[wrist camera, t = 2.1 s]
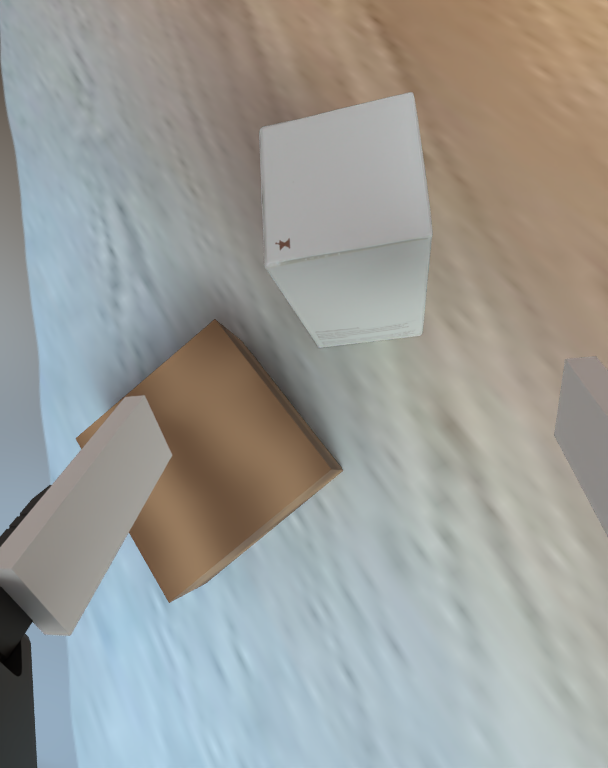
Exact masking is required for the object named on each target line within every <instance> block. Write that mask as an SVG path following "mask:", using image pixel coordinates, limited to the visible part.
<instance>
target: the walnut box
mask: <svg viewBox="0 0 608 768" xmlns="http://www.w3.org/2000/svg"><path fill="white" fill-rule="evenodd" d="M142 395H145V397H146V399H147V401H148V403H149V406H150V408H151V410H152V412H153V414H154V416H155V419H156V421H157V423H158V425H159V427H160V429H161V432H162V434H163V436H164V438H165V440H166V443H167V445H168V447H169V449H170V451H171V453H172V457H171V458H170V460H169V462H168V464H167V466H166V467H165V469H164V471H163V473H162V474H161V476H160V478H159V480H158V481H157V483H156V485H155V487H154V489H153V490H152V492H151V494H150V496H149V497H148V499H147V501H146V503H145V504H144V506H143V508H142V510H141V512H140V513H139V515H138V517H137V519H136V520H135V522H134V524H133V526H132V528H131V529H130V531H129V533H130V535H131V537H132V539H133V540H134V542H135V544H136V546H137V547H138V549H139V551H140V553H141V554H142V556H143V558H144V560H145V561H146V563H147V565H148V567H149V569H150V570H151V572H152V574H153V576H154V577H155V579H156V581H157V583H158V584H159V586H160V588H161V590H162V591H163V593H164V595H165V597H166V598H167V600H168V602H169V603H170V602H172V601H173V600H175V599H177V598H179V597H181V596H183V595H185V594H187V593H189V592H191V591H192V590H194V589H196V588H198V587H200V586H202V585H204V584H206V583H207V582H208V581H209V580H211V579H212V578H213V577H214V576H215V575H217V574H218V573H219V572H220V571H221V570H223V569H224V568H225V567H226V566H228V565H229V564H230V563H231V562H232V561H234V560H235V559H236V558H237V557H239V556H240V555H241V554H242V553H243V552H245V551H246V550H247V549H248V548H250V547H251V546H252V545H253V544H254V543H256V542H257V541H258V540H259V539H261V538H262V537H263V536H264V535H265V534H267V533H268V532H269V531H270V530H271V529H273V528H274V527H275V526H276V525H278V524H279V523H280V522H281V521H282V520H284V519H285V518H286V517H287V516H289V515H290V514H291V513H292V512H293V511H295V510H296V509H297V508H298V507H300V506H301V505H302V504H303V503H304V502H306V501H307V500H308V499H309V498H310V497H312V496H313V495H314V494H315V493H317V492H318V491H319V490H320V489H321V488H323V487H324V486H325V485H326V484H328V483H329V482H330V481H331V480H332V479H334V478H335V477H336V476H337V475H339V474H340V473H341V472H342V471H343V469H342V468H341V467H340V465H339V464H338V463H337V462H336V460H335V459H334V458H333V457H332V455H331V454H330V453H329V451H328V450H327V449H326V448H325V446H324V445H323V444H322V443H321V441H320V440H319V439H318V437H317V436H316V435H315V434H314V432H313V431H312V430H311V429H310V427H309V426H308V425H307V423H306V422H305V421H304V420H303V418H302V417H301V416H300V415H299V413H298V412H297V411H296V409H295V408H294V407H293V406H292V404H291V403H290V402H289V401H288V399H287V398H286V397H285V395H284V394H283V393H282V392H281V390H280V389H279V388H278V387H277V385H276V384H275V383H274V381H273V380H272V379H271V378H270V376H269V375H268V374H267V373H266V371H265V370H264V369H263V367H262V366H261V365H260V364H259V362H258V361H257V360H256V359H255V357H254V356H253V355H252V353H251V352H250V351H249V350H248V348H247V347H246V346H245V345H244V343H243V342H242V341H241V340H240V339H239V338H238V337H236V336H235V335H234V334H233V333H231V332H230V331H229V330H228V329H227V328H225V327H224V326H223V325H222V324H220V323H219V322H218V321H217V320H216V319H214V320H213V321H212V322H211V323H210V324H209V325H207V326H206V327H205V328H204V329H203V330H202V331H200V332H199V333H198V334H197V335H196V336H195V337H193V338H192V339H191V340H190V341H189V342H188V343H186V344H185V345H184V346H183V347H182V348H181V349H179V350H178V351H177V352H176V353H175V354H174V355H172V356H171V357H170V358H169V359H168V360H167V361H165V362H164V363H163V364H162V365H161V366H160V367H158V368H157V369H156V370H155V371H154V372H153V373H151V374H150V375H149V376H148V377H147V378H146V379H144V380H143V381H142V382H141V383H140V384H139V385H137V386H136V387H135V388H134V389H133V390H132V391H130V392H129V393H128V394H127V395H126V396H125V397H131V396H142ZM125 397H123V398H122V399H121V400H120V401H119V402H118V403H116V404H115V405H114V406H113V407H112V408H111V409H109V410H108V411H107V412H106V413H105V414H104V415H102V416H101V417H100V418H99V419H98V420H97V421H95V422H94V423H93V424H92V425H91V426H90V427H88V428H87V429H86V430H85V431H84V432H83V433H81V434H80V435H79V436H78V437H77V438H76V440H77V442H78V444H79V445H80V447H81V449H82V448H83V447H84V446H85V445H86V443H87V442H88V441H89V440H90V439H91V437H92V436H93V435H94V434H95V433H96V431H97V430H98V429H99V428H100V427H101V425H102V424H103V423H104V422H105V421H106V419H107V418H108V417H109V416H110V415H111V413H112V412H113V411H114V410H115V408H116V407H117V406H118V405H119V404H120V402H121V401H122V400H123V399H124V398H125Z"/></svg>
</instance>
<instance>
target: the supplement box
mask: <svg viewBox="0 0 608 768" xmlns="http://www.w3.org/2000/svg"><path fill="white" fill-rule="evenodd" d="M259 146H260V167H261V204H262V218H263V244H264V267H265V268H266V270H267V271H268V273H269V274H270V276H271V277H272V279H273V280H274V282H275V283H276V285H277V286H278V288H279V289H280V291H281V292H282V294H283V295H284V297H285V298H286V300H287V301H288V303H289V304H290V306H291V307H292V309H293V310H294V312H295V313H296V315H297V316H298V318H299V319H300V321H301V322H302V324H303V325H304V327H305V328H306V329H307V331H308V333H309V334H310V336H311V337H312V339H313V340H314V341H315V343H316V344H317V346H318V347H319V348H322V347H330V346H339V345H348V344H357V343H364V342H374V341H381V340H390V339H398V338H406V337H414V336H420V335H422V332H423V324H424V313H425V304H426V292H427V281H428V271H429V261H430V251H431V241H432V235H433V234H432V221H431V212H430V204H429V196H428V188H427V180H426V173H425V166H424V159H423V152H422V145H421V138H420V131H419V123H418V117H417V111H416V105H415V99H414V94H413V93H412V92H409V93H405V94H400V95H396V96H392V97H387V98H383V99H379V100H375V101H371V102H367V103H362V104H358V105H354V106H350V107H345V108H341V109H337V110H333V111H329V112H325V113H321V114H317V115H313V116H309V117H305V118H301V119H296V120H291V121H287V122H282V123H278V124H273V125H268V126H263V127H261V128H260V131H259Z"/></svg>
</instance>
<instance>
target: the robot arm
mask: <svg viewBox="0 0 608 768" xmlns="http://www.w3.org/2000/svg"><path fill="white" fill-rule="evenodd" d="M554 436H555V438H556V440H557V442H558V444H559V445H560V447H561V449H562V451H563V453H564V455H565V457H566V459H567V461H568V462H569V464H570V466H571V468H572V470H573V472H574V474H575V476H576V478H577V479H578V481H579V483H580V485H581V487H582V489H583V491H584V493H585V495H586V497H587V498H588V500H589V502H590V504H591V506H592V508H593V510H594V512H595V514H596V515H597V517H598V519H599V521H600V523H601V525H602V527H603V529H604V531H605V532H606V534H607V536H608V370H607V369H606V367H605V366H604V365H603V364H602V363H601V362H600V360H599V359H598V358H597V357H596V356H592V357H581V358H569V359H565V364H564V371H563V378H562V384H561V391H560V398H559V405H558V412H557V418H556V425H555V432H554ZM171 457H172V453H171V451H170V449H169V447H168V445H167V443H166V440H165V438H164V436H163V434H162V432H161V429H160V427H159V425H158V423H157V421H156V419H155V416H154V414H153V412H152V410H151V408H150V406H149V403H148V401H147V399H146V397H145V395H142V396H131V397H125V398H124V399H123V400H122V401H121V402H120V404H119V405H118V406H117V407H116V408H115V410H114V411H113V412H112V413H111V415H110V416H109V417H108V418H107V419H106V421H105V422H104V423H103V424H102V425H101V427H100V428H99V429H98V430H97V431H96V433H95V434H94V435H93V436H92V437H91V439H90V440H89V441H88V442H87V443H86V445H85V446H84V447H83V448H82V449H81V451H80V452H79V453H78V454H77V455H76V457H75V458H74V459H73V460H72V461H71V463H70V464H69V465H68V466H67V467H66V469H65V470H64V471H63V472H62V473H61V475H60V476H59V477H58V478H57V479H56V481H55V482H54V483H53V484H52V485H49V486H48V487H47V488H46V489H44V490H43V491H42V492H40V493H39V494H38V495H37V496H35V497H34V498H33V499H32V500H31V501H30V502H29V503H28V505H27V506H26V507H25V508H24V509H23V510H22V512H21V513H20V516H19V517H17V518H16V519H15V520H14V521H13V522H12V523H11V525H10V528H9V529H6V530H5V532H4V533H3V534H2V535H1V536H0V768H37V755H36V737H35V717H34V698H33V680H32V679H33V678H32V659H31V643H30V640H29V637H28V636H27V635H26V634H25V632H26V631H27V629H28V628H29V626H30V625H31V623H32V622H33V623H34V624H35V625H36V626H37V627H38V628H39V629H40V630H41V631H42V632H43V633H44V634H45V635H64V636H71V634H72V632H73V630H74V628H75V627H76V625H77V623H78V621H79V620H80V618H81V616H82V614H83V613H84V611H85V609H86V607H87V605H88V604H89V602H90V600H91V598H92V597H93V595H94V593H95V591H96V589H97V588H98V586H99V584H100V582H101V581H102V579H103V577H104V575H105V574H106V572H107V570H108V568H109V566H110V565H111V563H112V561H113V559H114V558H115V556H116V554H117V552H118V551H119V549H120V547H121V545H122V543H123V542H124V540H125V538H126V536H127V535H128V533H129V531H130V529H131V528H132V526H133V524H134V522H135V520H136V519H137V517H138V515H139V513H140V512H141V510H142V508H143V506H144V504H145V503H146V501H147V499H148V497H149V496H150V494H151V492H152V490H153V489H154V487H155V485H156V483H157V481H158V480H159V478H160V476H161V474H162V473H163V471H164V469H165V467H166V466H167V464H168V462H169V460H170V458H171Z"/></svg>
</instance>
